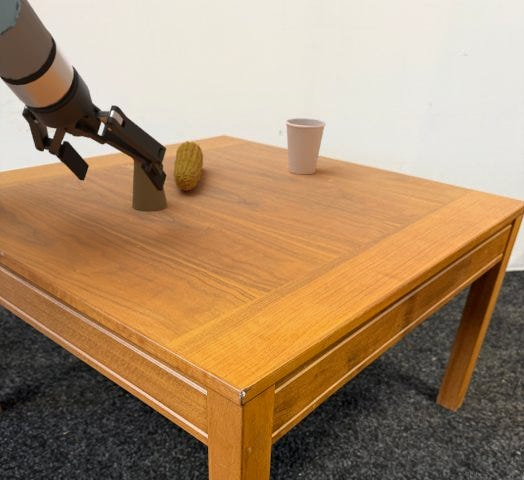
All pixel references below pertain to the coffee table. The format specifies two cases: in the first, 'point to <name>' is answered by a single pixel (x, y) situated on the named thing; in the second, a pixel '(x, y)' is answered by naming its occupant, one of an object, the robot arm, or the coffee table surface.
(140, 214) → the coffee table surface
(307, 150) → the dixie cup
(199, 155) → the food
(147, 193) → the cork
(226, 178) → the coffee table surface
